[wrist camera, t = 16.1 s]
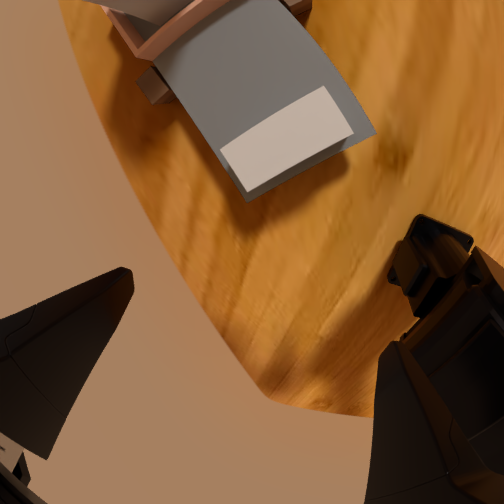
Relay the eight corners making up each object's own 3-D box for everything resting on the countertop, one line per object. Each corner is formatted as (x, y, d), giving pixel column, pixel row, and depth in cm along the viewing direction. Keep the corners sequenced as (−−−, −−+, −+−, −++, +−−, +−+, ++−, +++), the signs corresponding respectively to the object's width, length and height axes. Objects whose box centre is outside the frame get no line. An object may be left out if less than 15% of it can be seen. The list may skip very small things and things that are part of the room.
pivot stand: (312, 8, 12) (311, -4, 10) (169, 103, 17) (152, 104, 15) (291, -14, 11) (287, -28, 9) (152, 81, 16) (135, 81, 14)
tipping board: (373, 133, 13) (386, 134, 10) (251, 199, 17) (233, 216, 14) (198, -61, 8) (177, -81, 5) (116, 4, 12) (87, -5, 9)
